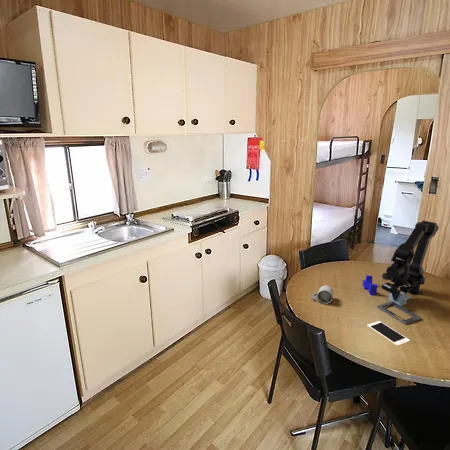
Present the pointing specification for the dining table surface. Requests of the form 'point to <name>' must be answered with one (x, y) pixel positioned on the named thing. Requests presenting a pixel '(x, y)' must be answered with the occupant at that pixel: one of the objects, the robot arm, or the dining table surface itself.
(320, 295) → the ceramic mug
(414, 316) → the plate
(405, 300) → the servo block
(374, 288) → the cable clip
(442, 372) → the dining table surface
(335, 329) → the dining table surface
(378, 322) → the cell phone
